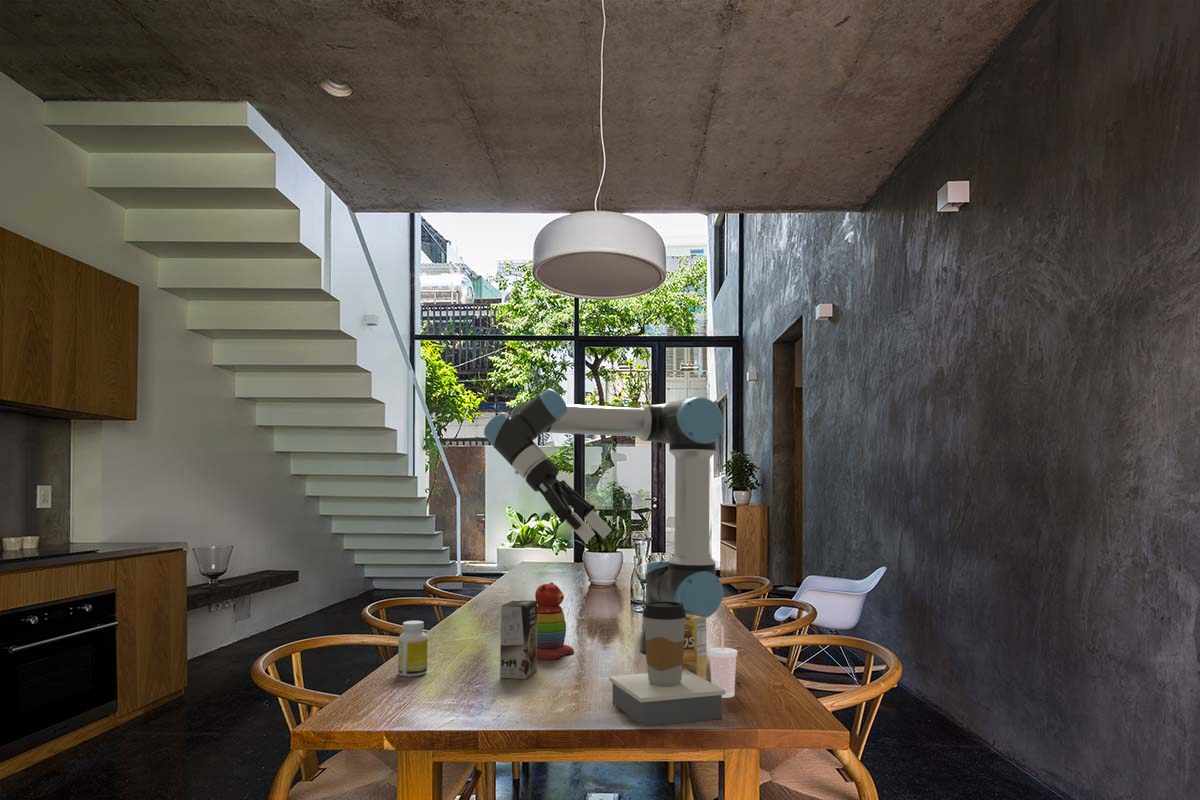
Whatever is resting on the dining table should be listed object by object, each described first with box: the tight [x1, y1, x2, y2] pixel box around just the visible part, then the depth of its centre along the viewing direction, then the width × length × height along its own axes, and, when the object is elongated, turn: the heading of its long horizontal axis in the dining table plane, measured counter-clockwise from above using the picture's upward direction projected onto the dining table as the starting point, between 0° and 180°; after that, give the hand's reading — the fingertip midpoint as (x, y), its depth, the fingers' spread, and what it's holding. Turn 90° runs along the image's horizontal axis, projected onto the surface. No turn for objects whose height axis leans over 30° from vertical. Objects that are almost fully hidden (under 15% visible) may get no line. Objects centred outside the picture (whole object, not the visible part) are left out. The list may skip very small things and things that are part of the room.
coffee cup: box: [642, 601, 686, 687], centre depth 160 cm, size 8×8×15 cm
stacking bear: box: [534, 581, 575, 660], centre depth 210 cm, size 11×10×18 cm
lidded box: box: [608, 670, 725, 728], centre depth 160 cm, size 17×17×5 cm
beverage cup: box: [707, 625, 738, 699], centre depth 172 cm, size 6×6×14 cm
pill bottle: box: [397, 620, 428, 677], centre depth 189 cm, size 6×6×12 cm
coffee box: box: [499, 599, 538, 680], centre depth 189 cm, size 9×6×16 cm
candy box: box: [682, 614, 707, 680], centre depth 178 cm, size 9×4×15 cm, turn 50°
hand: (599, 536), depth 184 cm, fingers open, 13 cm apart
